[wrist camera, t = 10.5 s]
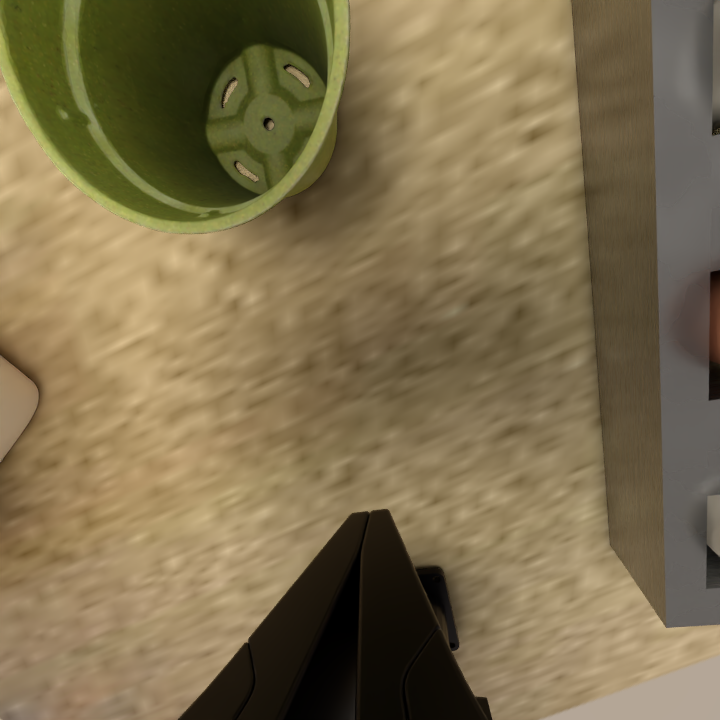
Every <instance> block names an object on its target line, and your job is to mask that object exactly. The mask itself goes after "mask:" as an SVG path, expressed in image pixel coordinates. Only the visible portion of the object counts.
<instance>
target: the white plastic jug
mask: <svg viewBox="0 0 720 720" xmlns="http://www.w3.org/2000/svg"><path fill="white" fill-rule="evenodd" d="M38 401H39V392H38V389H37V387H36V385H35V383H34V382H33V381H32V380H30V379H29V378H28V377H27V376H25V375H24V374H23V373H22V372H21V371H19V370H18V369H17V368H16V367H15V366H13V365H12V364H11V363H10V362H8V361H7V360H6V359H5V358H4V357H2V356H1V355H0V462H1V461H2V460H3V458H4V457H5V456H6V454H7V453H8V451H9V450H10V449H11V447H12V446H13V444H14V443H15V442H16V440H17V439H18V437H19V436H20V435H21V433H22V432H23V431H24V429H25V428H26V426H27V425H28V423H29V422H30V420H31V418H32V416H33V415H34V413H35V410H36V408H37V405H38Z"/></svg>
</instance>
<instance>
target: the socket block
mask: <svg viewBox="0 0 720 720" xmlns="http://www.w3.org/2000/svg"><path fill="white" fill-rule="evenodd" d="M572 9H573V24H574V38H575V52H576V66H577V80H578V94H579V109H580V123H581V137H582V151H583V165H584V179H585V193H586V208H587V222H588V236H589V250H590V264H591V278H592V293H593V307H594V321H595V335H596V349H597V363H598V377H599V392H600V406H601V420H602V434H603V448H604V462H605V477H606V491H607V505H608V519H609V533H610V545H611V547H612V548H613V550H614V551H615V552H616V554H617V555H618V557H619V558H620V560H621V561H622V563H623V564H624V566H625V567H626V569H627V570H628V572H629V573H630V575H631V576H632V578H633V579H634V581H635V582H636V584H637V585H638V587H639V588H640V590H641V591H642V592H643V594H644V595H645V597H646V598H647V600H648V601H649V603H650V604H651V606H652V607H653V609H654V610H655V612H656V613H657V615H658V616H659V618H660V619H661V621H662V622H663V624H664V625H665V627H666V628H670V627H687V626H703V625H719V624H720V557H719V556H718V555H717V554H716V553H715V552H714V551H713V550H712V549H711V548H710V547H709V546H708V545H707V496H712V495H720V364H717V363H715V362H712V361H710V360H709V328H710V272H712V271H717V270H720V134H718V135H714V136H712V92H713V14H714V0H572Z"/></svg>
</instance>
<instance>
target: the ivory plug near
mask: <svg viewBox="0 0 720 720" xmlns="http://www.w3.org/2000/svg"><path fill="white" fill-rule="evenodd" d="M718 128H720V0H714V14H713V92H712V130H715V129H718Z"/></svg>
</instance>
